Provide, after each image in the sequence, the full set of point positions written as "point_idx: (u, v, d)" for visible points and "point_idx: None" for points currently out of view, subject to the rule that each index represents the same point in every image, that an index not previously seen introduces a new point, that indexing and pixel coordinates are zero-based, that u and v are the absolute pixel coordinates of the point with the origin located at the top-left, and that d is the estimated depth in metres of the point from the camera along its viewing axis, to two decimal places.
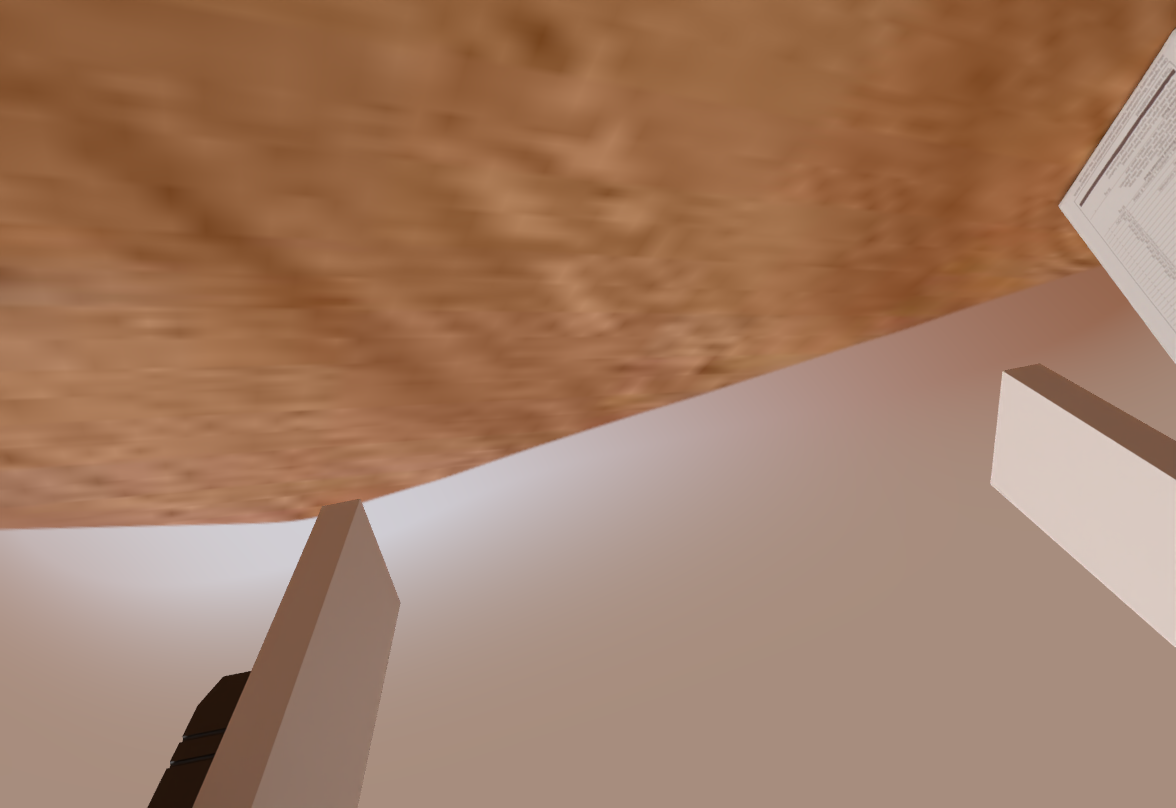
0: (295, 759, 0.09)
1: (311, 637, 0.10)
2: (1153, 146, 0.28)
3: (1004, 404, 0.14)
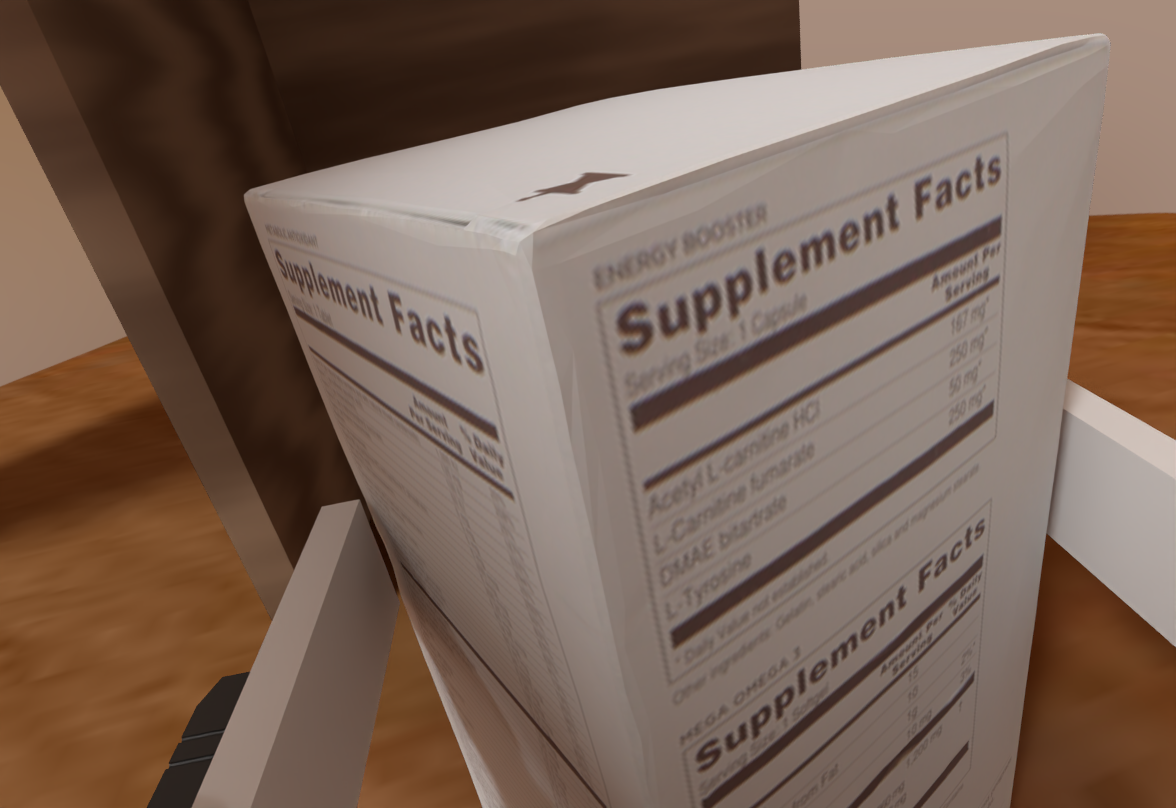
0: (294, 759, 0.09)
1: (311, 638, 0.10)
2: None
3: None
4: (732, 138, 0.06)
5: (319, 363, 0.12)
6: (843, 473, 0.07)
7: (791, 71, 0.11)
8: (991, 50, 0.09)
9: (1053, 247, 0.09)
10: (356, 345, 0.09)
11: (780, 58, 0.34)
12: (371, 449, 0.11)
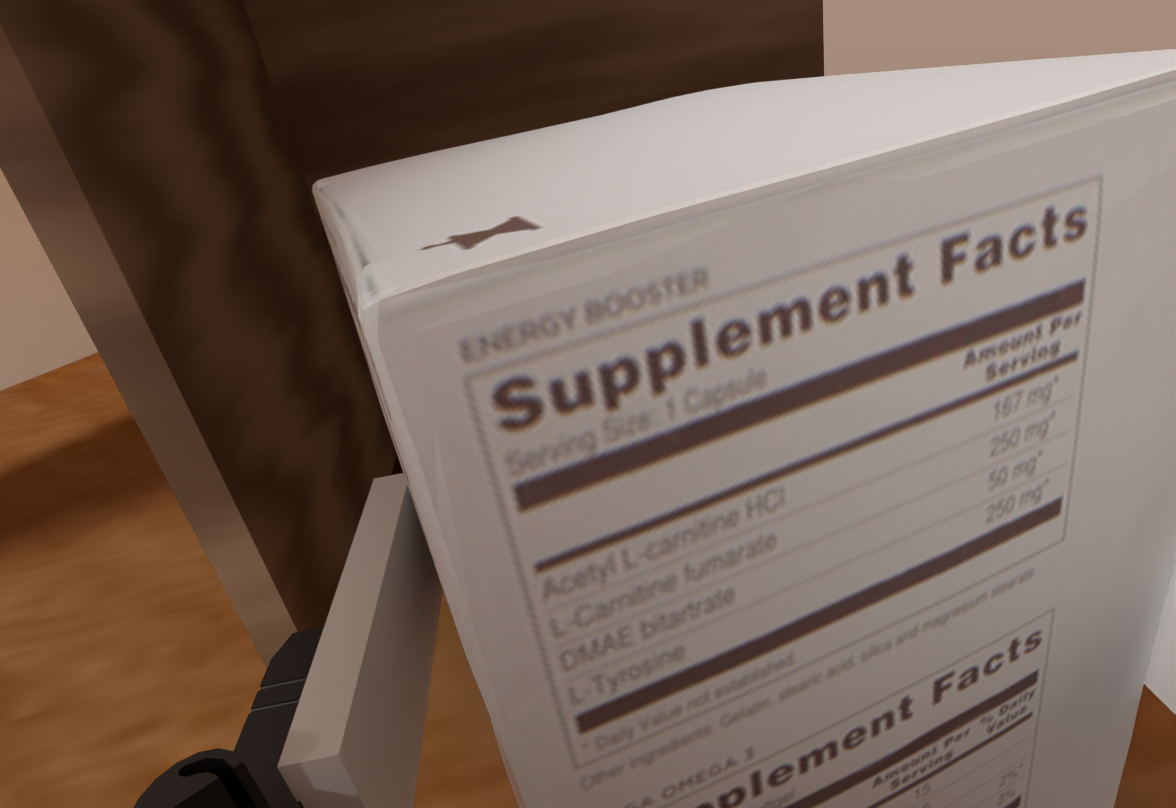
0: (371, 702, 0.10)
1: (379, 594, 0.11)
2: None
3: None
4: (688, 184, 0.05)
5: None
6: (818, 569, 0.06)
7: (887, 73, 0.10)
8: (1114, 63, 0.07)
9: (1174, 315, 0.07)
10: (364, 351, 0.09)
11: (802, 60, 0.32)
12: None
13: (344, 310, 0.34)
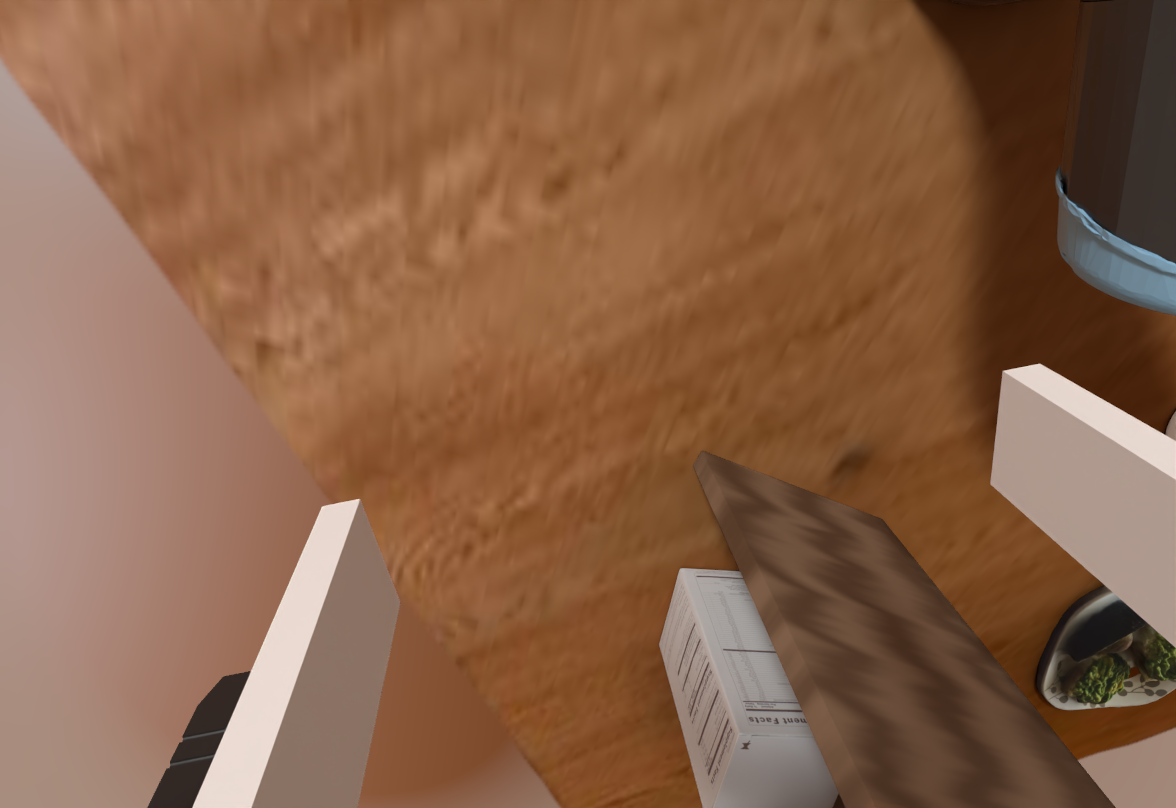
0: (295, 759, 0.09)
1: (311, 638, 0.10)
2: None
3: (1004, 404, 0.14)
4: (736, 762, 0.46)
5: None
6: (711, 722, 0.49)
7: None
8: None
9: (701, 779, 0.50)
10: (797, 711, 0.47)
11: None
12: None
13: None
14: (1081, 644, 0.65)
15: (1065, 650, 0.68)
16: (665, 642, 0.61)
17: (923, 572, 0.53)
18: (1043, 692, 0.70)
